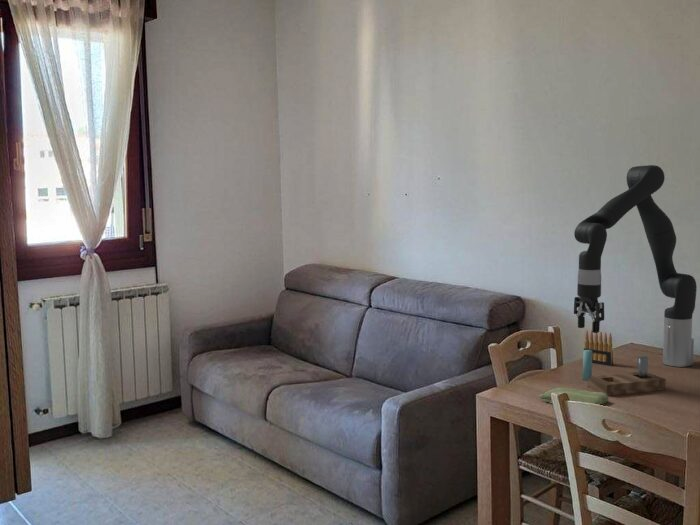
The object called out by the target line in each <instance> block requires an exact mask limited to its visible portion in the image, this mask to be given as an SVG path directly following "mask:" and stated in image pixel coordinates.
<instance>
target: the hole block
mask: <svg viewBox="0 0 700 525" xmlns="http://www.w3.org/2000/svg"><path fill="white" fill-rule="evenodd" d="M587 383H588V385H587V386H588V388H589V389H591V390H594V392H601V393H604V394H606V395H607V396H608V397H609V396H619V395H627V394H637V393H647V392H655V391H656V392H657V391H665V390H666V384H667V382H666V378H664V377H661V376H659V375H655V374H653V373H651V372H648V377H647V378H644V379H641V378H638V371H637V372H636V371H634V372H626V373H625V372H624V373H616V374H615V373H614V374H606V375H596V376H595V375H594V376H593V375H592V377H589V380H588V381H587Z"/></svg>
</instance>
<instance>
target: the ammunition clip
mask: <svg viewBox="0 0 700 525" xmlns="http://www.w3.org/2000/svg"><path fill="white" fill-rule="evenodd" d="M598 334H599V335H598ZM607 335H608V336H607ZM583 343H584V344H583V350H592V364H593V365H594V364H595V365H603V366H607V367H611V366H613V365H614V357H613V356H614V354H613V353H614V352H613V337H612V333H611V332H610V333H609V334H607V332H606V331H605V332H604V334H603V332H602V331H599V333H593V332H592V330H590V332H589V331H588V330H587V329H586V330H585V334H584V341H583Z"/></svg>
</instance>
